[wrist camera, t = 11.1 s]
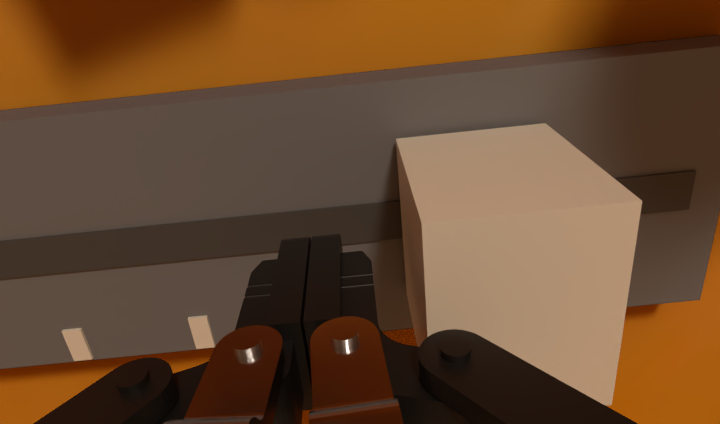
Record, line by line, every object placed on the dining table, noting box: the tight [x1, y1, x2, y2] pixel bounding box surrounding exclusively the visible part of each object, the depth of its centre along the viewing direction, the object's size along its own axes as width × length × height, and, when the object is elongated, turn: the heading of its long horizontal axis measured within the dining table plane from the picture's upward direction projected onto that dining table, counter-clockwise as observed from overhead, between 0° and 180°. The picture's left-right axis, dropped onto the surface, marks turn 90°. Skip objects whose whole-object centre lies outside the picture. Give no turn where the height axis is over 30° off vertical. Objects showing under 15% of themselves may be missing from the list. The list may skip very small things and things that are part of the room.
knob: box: [396, 123, 642, 406], centre depth 13 cm, size 4×5×5 cm
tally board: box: [0, 35, 720, 369], centre depth 16 cm, size 24×8×2 cm, turn 96°
